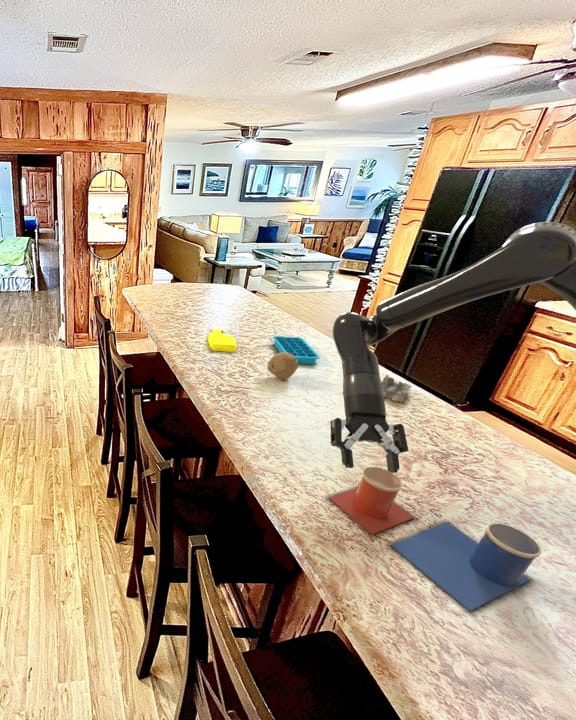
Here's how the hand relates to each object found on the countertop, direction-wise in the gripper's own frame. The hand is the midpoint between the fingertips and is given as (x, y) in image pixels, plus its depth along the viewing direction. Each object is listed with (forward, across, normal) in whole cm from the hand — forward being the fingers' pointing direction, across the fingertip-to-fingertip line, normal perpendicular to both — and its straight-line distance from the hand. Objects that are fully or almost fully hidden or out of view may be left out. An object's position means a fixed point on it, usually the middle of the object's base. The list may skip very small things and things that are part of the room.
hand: (371, 470), depth 82 cm
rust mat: (+8, 0, +2) cm, 8 cm away
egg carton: (-30, +29, +39) cm, 57 cm away
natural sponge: (-33, -4, +43) cm, 54 cm away
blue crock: (+16, +15, -7) cm, 23 cm away
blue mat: (+15, +10, -6) cm, 19 cm away
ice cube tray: (-49, +7, +59) cm, 77 cm away
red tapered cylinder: (+7, 0, +2) cm, 8 cm away
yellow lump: (-56, -20, +66) cm, 88 cm away
